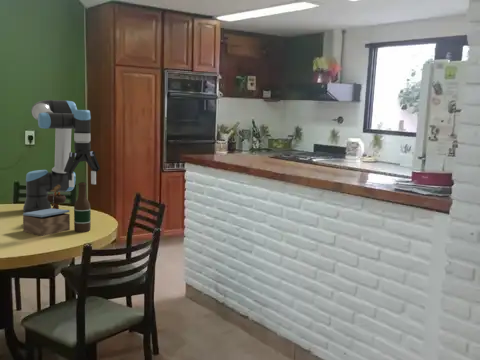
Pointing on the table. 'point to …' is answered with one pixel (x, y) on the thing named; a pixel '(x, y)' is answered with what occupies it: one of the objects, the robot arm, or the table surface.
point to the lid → (46, 212)
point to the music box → (56, 197)
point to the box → (46, 224)
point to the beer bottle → (82, 211)
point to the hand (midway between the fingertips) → (82, 185)
